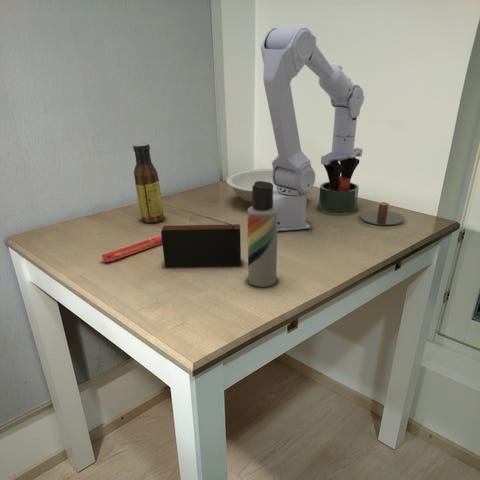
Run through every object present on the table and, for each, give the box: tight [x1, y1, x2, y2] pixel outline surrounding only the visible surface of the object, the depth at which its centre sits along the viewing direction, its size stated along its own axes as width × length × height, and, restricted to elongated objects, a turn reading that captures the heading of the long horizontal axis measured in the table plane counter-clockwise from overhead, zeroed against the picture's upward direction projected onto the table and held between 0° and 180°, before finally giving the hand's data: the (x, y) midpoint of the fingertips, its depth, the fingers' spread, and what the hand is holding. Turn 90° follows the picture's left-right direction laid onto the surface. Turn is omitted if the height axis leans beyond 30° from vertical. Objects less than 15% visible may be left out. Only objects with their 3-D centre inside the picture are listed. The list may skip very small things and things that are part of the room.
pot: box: [318, 181, 360, 214], centre depth 132 cm, size 10×10×6 cm
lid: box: [359, 201, 405, 227], centre depth 123 cm, size 11×11×5 cm
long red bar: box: [101, 233, 162, 263], centre depth 112 cm, size 24×2×5 cm
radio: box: [148, 199, 242, 268], centre depth 100 cm, size 19×3×15 cm, turn 90°
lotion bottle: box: [247, 181, 278, 288], centre depth 91 cm, size 6×6×20 cm
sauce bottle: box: [132, 142, 165, 224], centre depth 123 cm, size 7×6×20 cm
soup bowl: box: [225, 168, 278, 204], centre depth 139 cm, size 24×24×7 cm
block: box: [329, 175, 352, 191], centre depth 130 cm, size 4×4×4 cm
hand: (339, 187), depth 130 cm, fingers open, 4 cm apart
